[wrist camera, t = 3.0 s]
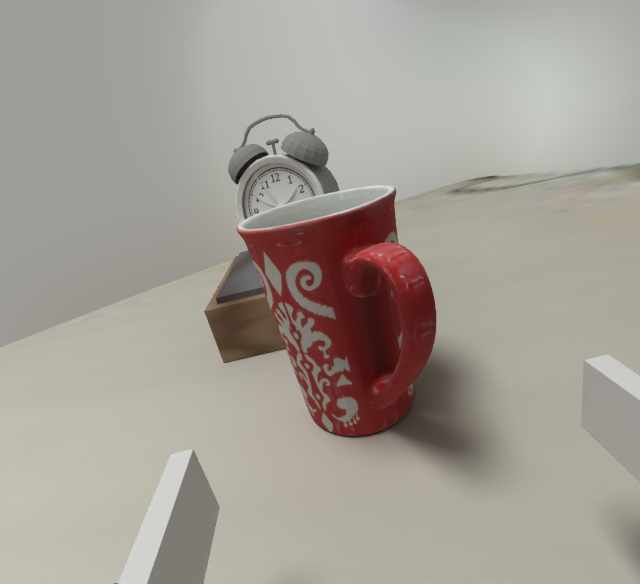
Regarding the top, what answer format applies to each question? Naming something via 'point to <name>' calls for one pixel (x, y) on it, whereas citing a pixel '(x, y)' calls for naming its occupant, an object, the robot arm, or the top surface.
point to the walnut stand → (242, 314)
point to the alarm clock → (279, 172)
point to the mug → (346, 304)
